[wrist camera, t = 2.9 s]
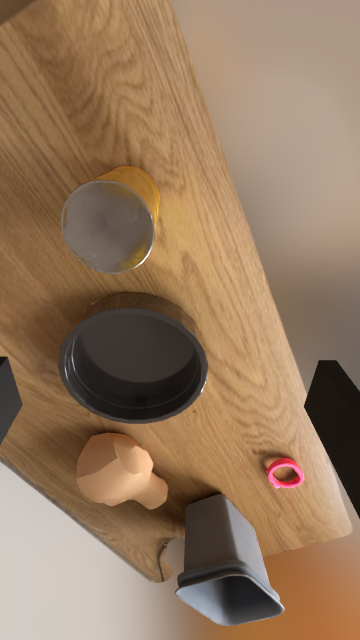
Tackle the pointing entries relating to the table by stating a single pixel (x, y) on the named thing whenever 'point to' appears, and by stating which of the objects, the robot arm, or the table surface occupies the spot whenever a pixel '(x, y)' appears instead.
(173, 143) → the table surface
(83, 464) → the squash
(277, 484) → the fitness band
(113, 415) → the pan
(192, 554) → the storage bin
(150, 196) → the corn can
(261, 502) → the table surface
